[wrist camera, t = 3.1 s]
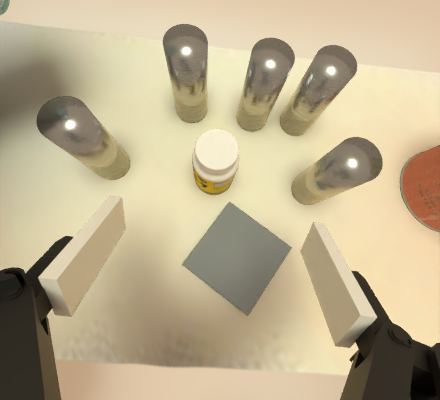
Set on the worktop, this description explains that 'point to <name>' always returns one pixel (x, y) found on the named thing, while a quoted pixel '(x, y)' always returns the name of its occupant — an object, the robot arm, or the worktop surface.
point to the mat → (237, 258)
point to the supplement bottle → (215, 161)
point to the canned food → (423, 187)
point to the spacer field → (246, 116)
